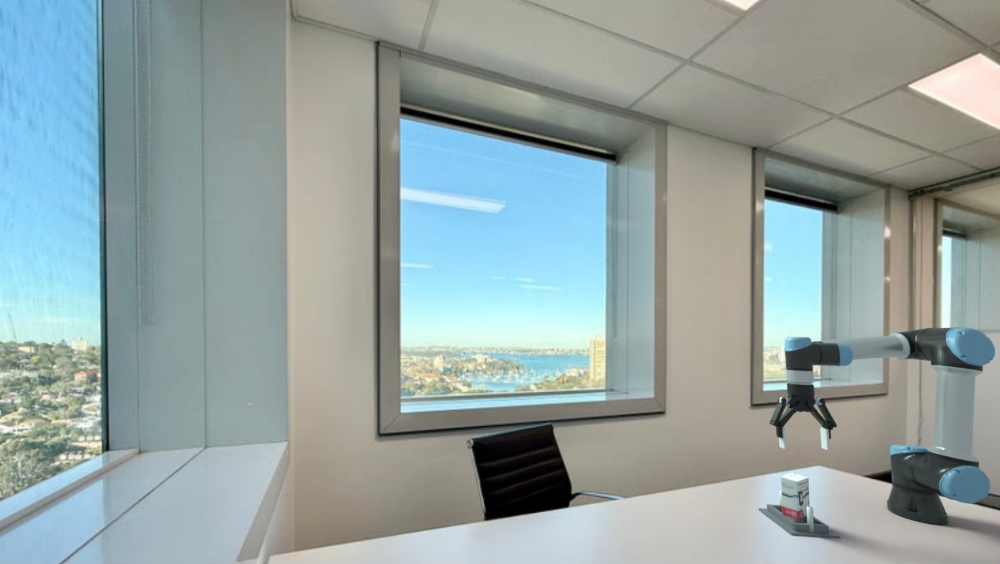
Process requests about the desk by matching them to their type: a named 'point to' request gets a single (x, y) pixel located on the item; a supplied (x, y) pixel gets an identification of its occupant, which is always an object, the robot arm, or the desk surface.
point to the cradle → (798, 522)
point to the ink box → (795, 495)
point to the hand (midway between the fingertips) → (804, 448)
